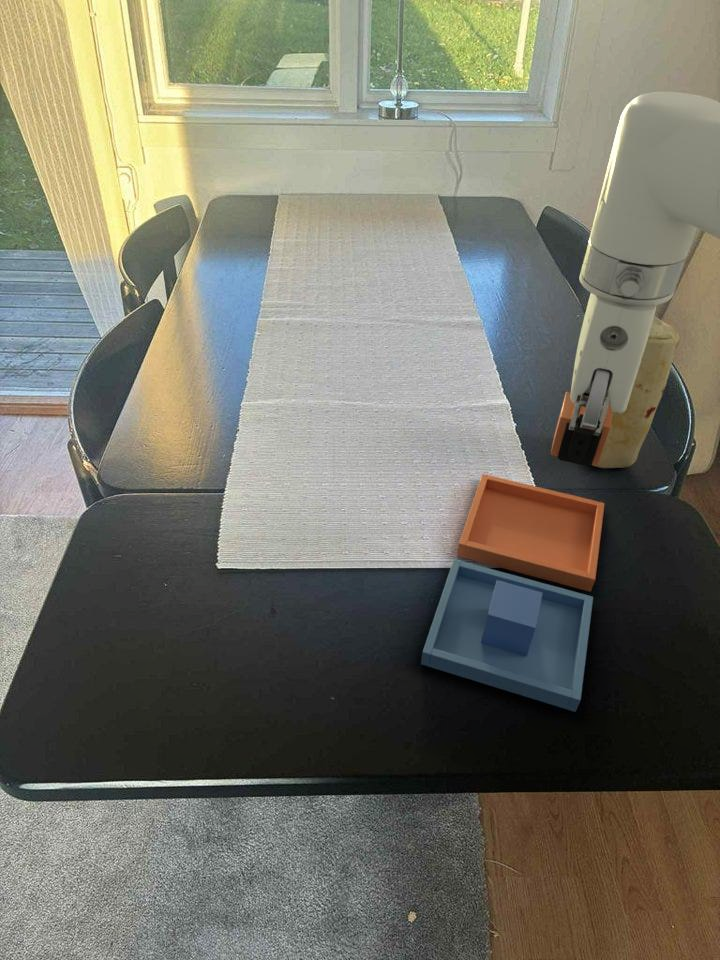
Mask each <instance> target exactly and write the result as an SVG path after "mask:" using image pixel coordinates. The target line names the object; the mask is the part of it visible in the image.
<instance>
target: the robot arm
mask: <svg viewBox="0 0 720 960" xmlns="http://www.w3.org/2000/svg"><path fill="white" fill-rule="evenodd" d="M611 148H612V149H611V152H610V155H609V160H608V163H607V168H606V172H605V175H604V179H603V184H602V187H601V190H600V191H601V192H600V195H599V199H598V203H597V207H596V211H595V215H594V218H593V222H592V227H591V230H590V234H589V239H588V242H587V246H586V249H585V254H584V258H583V262H582V266H581V269H580V273H579V279H578V280H579V283H580V284H581V286H582V287H583V288H584V289H585V290H586V291H587V292H589V293H590V294H589V298H588V301H587V304H586V309H585V313H584V317H583V320H582V321H583V322H582V325H581V329H580V334H579V339H578V342H577V343H578V344H577V348H576V352H575V359H574V366H573V371H572V372H573V374H572V379H571V388H570V393H571V394H570V399H571V401H572V402H573V403H574V404H575V407H574V410H573V414H572V418H571V421H570V423H567V424H566V428H565V432H564V435H563V439H562V442H561V446H560V449H559V453H558V456H557V459H558V460H559V461H564V462H567V463H570V464H575V465H580V466H583V467H591V466H593V465H592V463H593V459H594V456H595V453H596V450H597V447H598V444H599V441H600V438H601V435H602V430H601V429H602V426H603V423H604V419H605V416H606V413H607V409H608V407H609V403H610V407H611V411H612V412H617V414H621V413H623V412H625V411H626V409H627V405H628V402H629V398H630V395H631V392H632V388H633V385H634V382H635V379H636V376H637V372H638V369H639V366H640V363H641V360H642V357H643V353H644V350H645V347H646V344H647V340H648V337H649V333H650V330H651V326H652V323H653V319H654V316H655V315H656V310H657V306H658V305H662V304H665V303H667V302H669V301H670V300H671V299H672V298H673V296H674V294H675V291H676V289H677V285H678V283H679V279H680V277H681V274H682V271H683V268H684V266H685V263H686V261H687V257H688V255H689V252H690V249H691V246H692V243H693V242H694V241H693V240H694V237H695V235H696V233H697V229H699V230H700V231H703V232H704V233H707V234H709V235H710V236H712V237H715V238H717V239H719V240H720V102H719V101H717V100H716V99H713V98H710V97H707V96H703V95H698V94H693V93H685V92H679V91H678V92H677V91H653V92H652V91H651V92H647V93H642V94H639V95H638V96H636V97H635V98H633V99H632V100H631V101H630V102H629V103H627V104H626V106H625V107H624V109H623V111H622V113H621V115H620V118H619V121H618V124H617V128H616V133H615V137H614V140H613V145H612V147H611ZM582 395H584V396H582ZM586 396H588V397H586ZM604 397H605V399H604ZM581 406H584V407H586V408H585V411H584V414H580V415H579V413H580V409H581ZM578 416H579V417H578Z"/></svg>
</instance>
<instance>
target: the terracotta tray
mask: <svg viewBox="0 0 720 960" xmlns="http://www.w3.org/2000/svg"><path fill="white" fill-rule="evenodd" d="M604 511H605V503H604V502H601V501H598V500H593V499H589V498H585V497H581V496H577V495H574V494H569V493H564V492H560V491H556V490H552V489H549V488H543V487H540V486H535V485H531V484H527V483H523V482H518V481H514V480H510V479H507V478H503V477H498V476H494V475H490V474H486V473H482V474H481V477H480V479H479V481H478V485H477V488H476V491H475V494H474V498H473V500H472V504H471V506H470V508H469V511H468V514H467V518H466V520H465V524H464V527H463V530H462V533H461V536H460V538H459V542H458V546H457V550H456V551H457V553H456V556H457V557H459V558H464V559H467V560H470V561H474V562H477V563H482V564H485V565H489V566H492V567H497V568H499V569H504V570H508V571H511V572H516V573H518V574H522V575H526V576H530V577H533V578H538V579H542V580H545V581H549V582H552V583H556V584H560V585H564V586H567V587H570V588H575V589H579V590H582V591H586V592H589V593H590V592H592V589H593V587H594V584H595V582H596V577H597V568H598V563H599V561H598V560H599V553H600V544H601V535H602V529H603V522H604V521H603V518H604Z"/></svg>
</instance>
